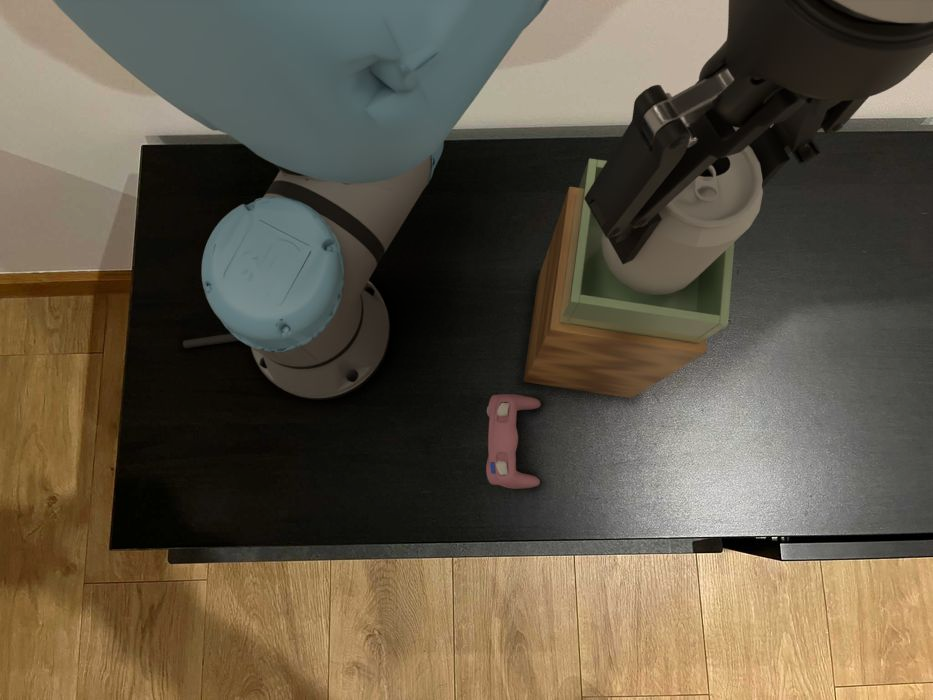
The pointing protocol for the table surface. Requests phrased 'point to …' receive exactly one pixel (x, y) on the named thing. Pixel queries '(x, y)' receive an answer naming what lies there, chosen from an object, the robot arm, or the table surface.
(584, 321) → the box
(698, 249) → the can
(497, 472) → the video game controller
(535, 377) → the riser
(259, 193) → the table surface
